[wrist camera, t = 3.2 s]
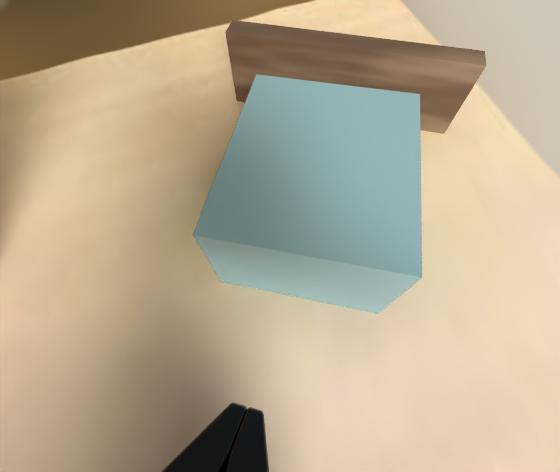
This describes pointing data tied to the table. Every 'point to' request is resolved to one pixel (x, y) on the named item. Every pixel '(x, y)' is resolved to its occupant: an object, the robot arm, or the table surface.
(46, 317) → the table surface
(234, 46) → the board
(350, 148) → the block
